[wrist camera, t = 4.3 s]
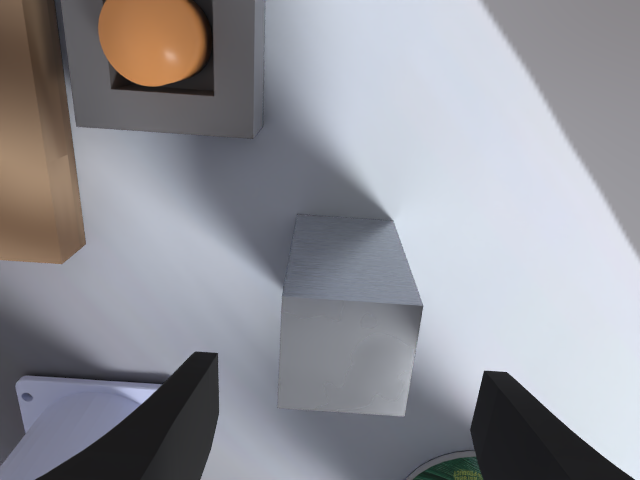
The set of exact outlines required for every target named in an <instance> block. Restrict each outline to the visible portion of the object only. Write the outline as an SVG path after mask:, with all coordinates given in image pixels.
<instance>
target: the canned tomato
mask: <svg viewBox="0 0 640 480" xmlns="http://www.w3.org/2000/svg"><path fill="white" fill-rule="evenodd" d="M406 480H483V477H482V474H481V472H480V469H479V466H478V462H477V458H476V453H475V451H463V452H455V453H451V454H447V455H443V456H440V457H438V458H435V459H433V460H430V461H428V462H427V463H425V464H423V465H422V466H420V467H419V468H417V469H416V470H415V471H414V472H413V473H411V474H410V475H409V476H408V477H407V478H406Z"/></svg>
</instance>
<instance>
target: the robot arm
mask: <svg viewBox="0 0 640 480" xmlns="http://www.w3.org/2000/svg"><path fill="white" fill-rule="evenodd" d="M15 388H16V392H17V397H18V401H19V406H20V411H21V415H22V420H23V424H24V429H25V435H24V437H23V438H22V439H21V440H20V442H19V443H18V444H17V446H16V447H15V448H14V450H13V451H12V452H11V453H10V455H9V456H8V457H7V459H6V460H5V461H4V462H3V464H2V465H1V466H0V480H200V479H201V476H202V473H203V470H204V467H205V465H206V462H207V459H208V456H209V453H210V450H211V447H212V442H213V438H214V434H215V429H216V425H217V420H218V416H219V386H218V353H209V352H194V353H193V354H192V355H191V356H190V357H189V358H188V359H187V360H186V361H185V362H184V363H183V364H182V365H181V366H180V367H179V368H178V369H177V370H176V371H175V372H174V373H173V374H172V375H171V376H170V377H169V378H168V379H167V380H166V381H165V382H164V383H163V384H149V383H133V382H118V381H103V380H88V379H72V378H57V377H42V376H23V377H21V378H20V379H19V380H18V381H17V383H16V387H15ZM27 393H29V394H30V395H29V394H27ZM31 395H32V396H31ZM470 431H471V435H472V440H473V445H474V449H475V453H476V458H477V462H478V466H479V469H480V472H481V474H482V477H483V480H635V479H633V478H632V477H630V476H629V475H628V474H626V473H625V472H623V471H622V470H621V469H619V468H618V467H616V466H615V465H614V464H612V463H611V462H610V461H609V460H607V459H606V458H605V457H603V456H602V455H601V454H600V453H598V452H597V451H596V450H595V449H593V448H592V447H591V446H590V445H588V444H587V443H586V442H585V441H583V440H582V439H581V438H580V437H579V436H577V435H576V434H575V433H574V432H573V431H572V430H570V429H569V428H568V427H567V426H566V425H565V424H564V423H562V422H561V421H560V420H559V419H558V418H557V417H556V416H555V415H553V414H552V413H551V412H550V411H549V410H548V409H547V408H546V407H545V406H544V405H542V404H541V403H540V402H539V401H538V400H537V399H536V398H535V397H534V396H533V395H532V394H531V393H529V392H528V391H527V390H526V389H525V388H524V387H523V386H522V385H521V384H520V383H519V382H518V381H516V380H515V379H514V378H513V377H512V376H511V375H509V374H508V373H507V372H497V371H484V373H483V378H482V382H481V386H480V390H479V395H478V399H477V403H476V407H475V411H474V416H473V420H472V424H471V428H470Z"/></svg>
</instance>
